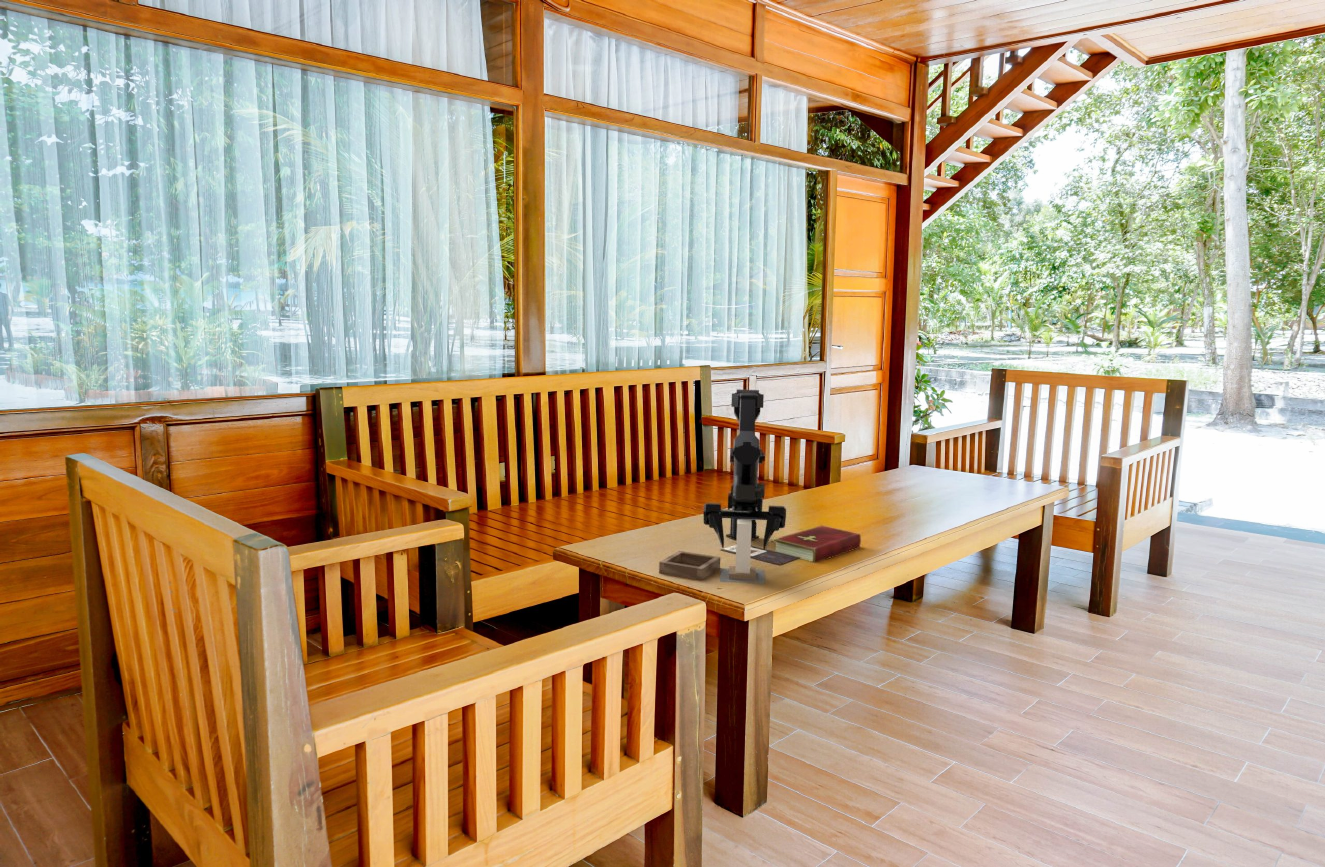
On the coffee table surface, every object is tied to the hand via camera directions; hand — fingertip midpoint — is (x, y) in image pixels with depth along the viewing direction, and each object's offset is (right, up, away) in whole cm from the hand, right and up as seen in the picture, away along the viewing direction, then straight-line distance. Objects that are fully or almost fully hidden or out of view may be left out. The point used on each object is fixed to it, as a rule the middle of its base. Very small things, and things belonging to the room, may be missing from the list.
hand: (743, 547), depth 198 cm
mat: (0, -7, +2) cm, 7 cm away
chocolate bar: (+6, -5, +20) cm, 21 cm away
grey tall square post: (0, -7, +2) cm, 7 cm away
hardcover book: (+21, -5, +26) cm, 33 cm away
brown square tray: (-12, -6, +5) cm, 14 cm away
